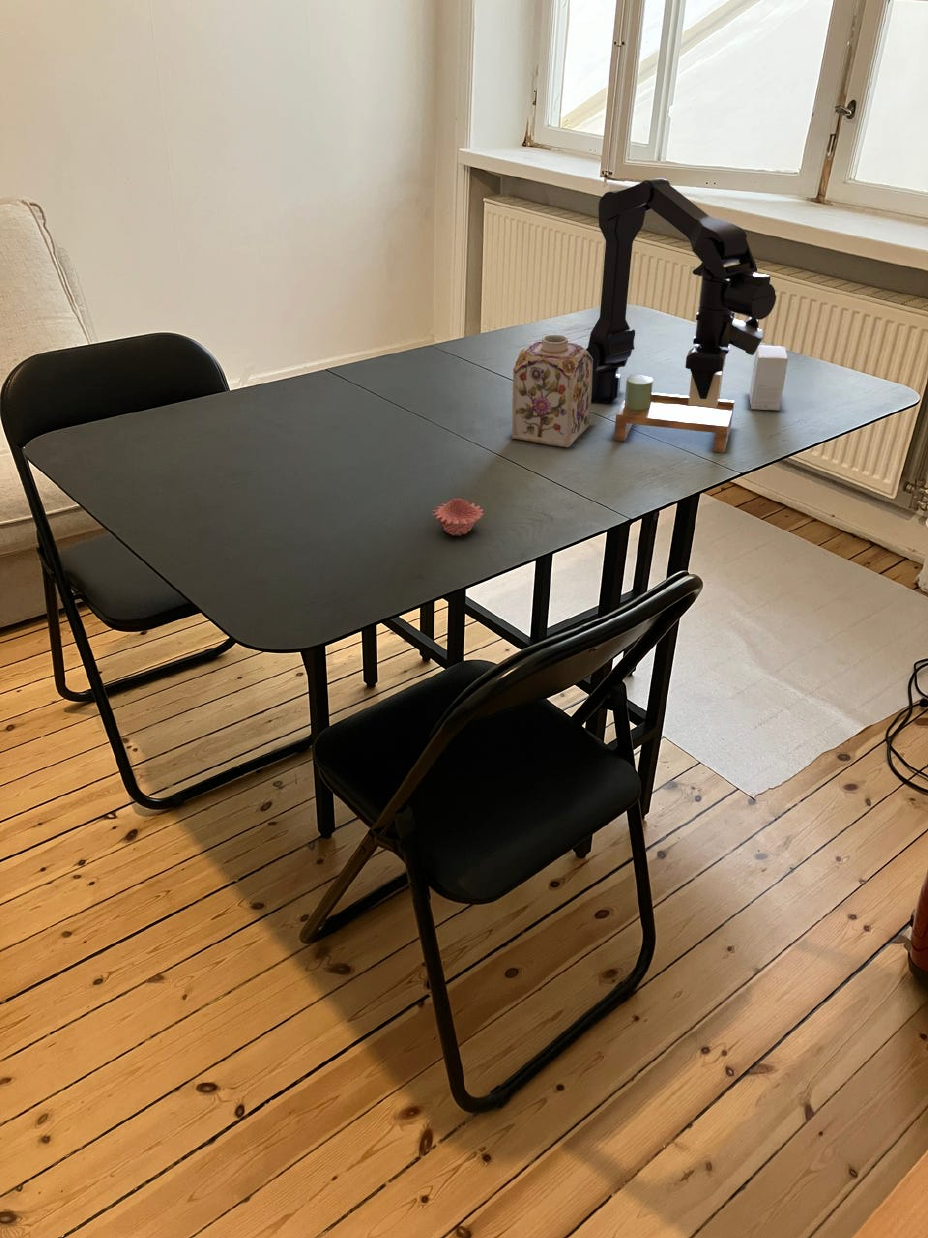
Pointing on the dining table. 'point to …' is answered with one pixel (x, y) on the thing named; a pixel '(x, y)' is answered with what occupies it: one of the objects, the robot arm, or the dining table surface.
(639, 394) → the ceramic canister
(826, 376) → the dining table surface
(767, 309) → the robot arm
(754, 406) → the small box
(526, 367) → the decorative jar
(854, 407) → the dining table surface
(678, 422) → the shelf
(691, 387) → the cream block
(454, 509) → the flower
